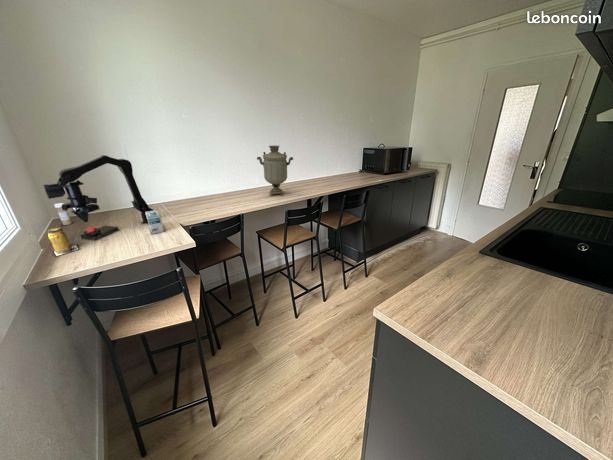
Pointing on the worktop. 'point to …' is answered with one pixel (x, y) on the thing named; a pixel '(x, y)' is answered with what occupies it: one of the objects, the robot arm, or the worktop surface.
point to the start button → (90, 229)
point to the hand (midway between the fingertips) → (86, 222)
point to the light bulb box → (154, 221)
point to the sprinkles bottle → (63, 214)
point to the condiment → (60, 241)
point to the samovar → (275, 168)
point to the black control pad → (99, 233)
